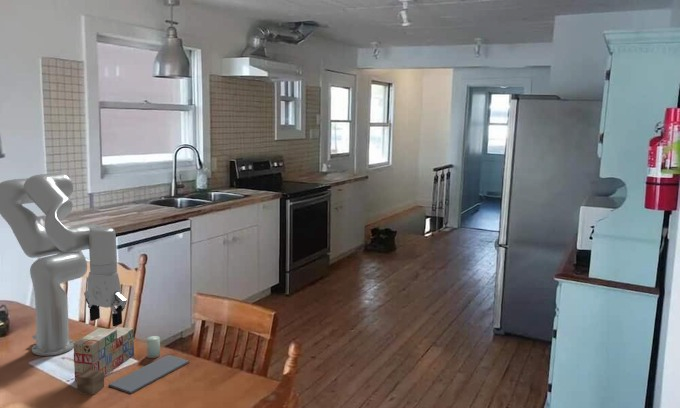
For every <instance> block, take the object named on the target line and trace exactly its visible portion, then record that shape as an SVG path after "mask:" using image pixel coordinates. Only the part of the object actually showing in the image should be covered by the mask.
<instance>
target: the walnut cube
mask: <svg viewBox="0 0 680 408" xmlns="http://www.w3.org/2000/svg"><path fill="white" fill-rule="evenodd" d="M76 384H77V393H78V394H83V395H84V394H85V395H91V396H94V395H95V394H97V393H98V392H99V391H101V390H102V389H104V387H105V376H104V371H101V370H93V369H88V370H86V371H85V372H83V373H82V374H80V375H78V376H77V381H76Z"/></svg>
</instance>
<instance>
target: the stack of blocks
mask: <svg viewBox="0 0 680 408" xmlns="http://www.w3.org/2000/svg"><path fill="white" fill-rule="evenodd" d="M134 355H135V338H134V328H133V327H131V328H130V327H122V326H114V328H112V329H111V328H104V327H98V328H96V329H94V331H92V332H90V333H87V335H85V336H83V337H81V338H79V339H78V340H76V341H74V347H73V363H74V364H73V366H74V382H77V376H78V375H80V374H82V373H83V372H85V371H86V370H88V369H93V370H101V371H104V377H105V376H107V375H108V374H109V373H111V372H112V371H114V370H115V369H116V368H117V367H118V366H120V365H122V364H123V363H124V362H126V361H127V360H128V359H130V358H131V357H133V356H134Z"/></svg>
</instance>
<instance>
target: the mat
mask: <svg viewBox="0 0 680 408" xmlns="http://www.w3.org/2000/svg"><path fill="white" fill-rule="evenodd" d="M189 363H190V360H188V359H185V358H183V357H182V358H181V357H178V356H174V355H172V354H171V355H170V354H167V355H165V356H162V357H161V358H159V359H157V360H154V361H152V362H149V364H147V365H145V366H142V367H140V368H138V369H136V370H134V371H132V372H131V373H129V374H126V375H124V376H122V377H120V378H118V379H116V380H115V381H112V382H110V383H108V387H110V388H114V389H116V390H119V391H123V392H124V393H128V394H134V393H135V392H137V391H139V390H141V389H143V388H145V387H146V386H148V385H150V384H152V383H153V382H156V381H157V380H159V379H161V378H163V377H164V376H167V375H168V374H170V373H173V372H174V371H176V370H178V369H180V368H182V367H183V366H185V365H187V364H189Z"/></svg>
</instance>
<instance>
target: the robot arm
mask: <svg viewBox="0 0 680 408" xmlns="http://www.w3.org/2000/svg"><path fill="white" fill-rule="evenodd" d="M73 191H74V184H73V181H72V180H71V178H70V176H68V175H66V174H64V173H62V172H61V173H59V172H57V173H45V174H44V173H43V174H35V175H32V176H30V177H28V178H27V177H26V178H14V179H8V180H7V179H6V180H5V181H4V180H3V181H1V182H0V215H1V217H2V219H3V220H5V222H6V223H7V224H8V225H9V227H10V228H11V230H12V233H13V234H14V237H15V238H16V240H17V243H19V246H20V248H21V250H22V251H23V253H24V254H25V256H27V257H28V258H32V259H34V258H35V259H36V258H38V259H36V260H35V261H33V263H32V264H31V265H30V269H29V274H30V275H29V276H30V279H31V283H32V286H33V292H34V306H35V307H34V308H35V328H36V329H35V331H36V333H35V334H32V336H31V338H32V339H33V340H35V344H33V346H32V347H31V352H32V354H34V355H37V356H43V357H46V356H47V357H48V356H50V357H51V356H56V355H61V354H65V353H66V352H69V351H71V350H72V349H74V342H75V341H74V340H73V339H72V338H70V332H69V327H70V326H69V325H70V324H69V306H68V305H69V304H68V295H67V293H66V291H65V290H64V288H62V286H61V284H63V283H66V282H70V281H74V280H78V279H80V278H83V277H84V276H85V275H86V273H87V271H88V262H87V260H86V257H85V255H84V254H83V252H82V251H85V250H88V251H89V272H88V276H87V283H86V286H87V287H86V291H84V292H83V296H84V299H85V302H86V303H87V308H88V309H89V320H90V322H93V321H96V320H99V319H100V318H101V314H100V313H101V311H100V307H101V308H107V309H108V308H110V309H111V311H112V313H111V319H112V320H111V323H112V324H111V325H112V327H118V326H119V325H122V324H123V312H124V309H126V305H127V302H128V300H127V298H125V297H124V296H123V295H122V291H121V290H122V289H121V283H120V282H121V281H120V276H119V273H118V262H117V261H118V259H117V239H116V238H117V236H116V230H115V228H112V227H107V226H105V227H104V226H101V225H100V224H96V223H91V224H82V225H77V226H70V227H66V226H65V225H64V224H63V223H62V222H61V221H62V220H64V219H65V218H67V216H69V214H70V213H71V211H72V210H73V205H74V204H73V201H72V199H70V198H69V197H70V196H71V195H72V194H73ZM26 204H35V205H36V207H38V208H39V209H40V211H42V213H43V214H44V215H45V219H44V225H43V224H42V223H41V221H40V219H39V217H38V216H37V214H35V212H33V211H32V210H30V209H29V208H27V207H25V206H24V205H26Z"/></svg>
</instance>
